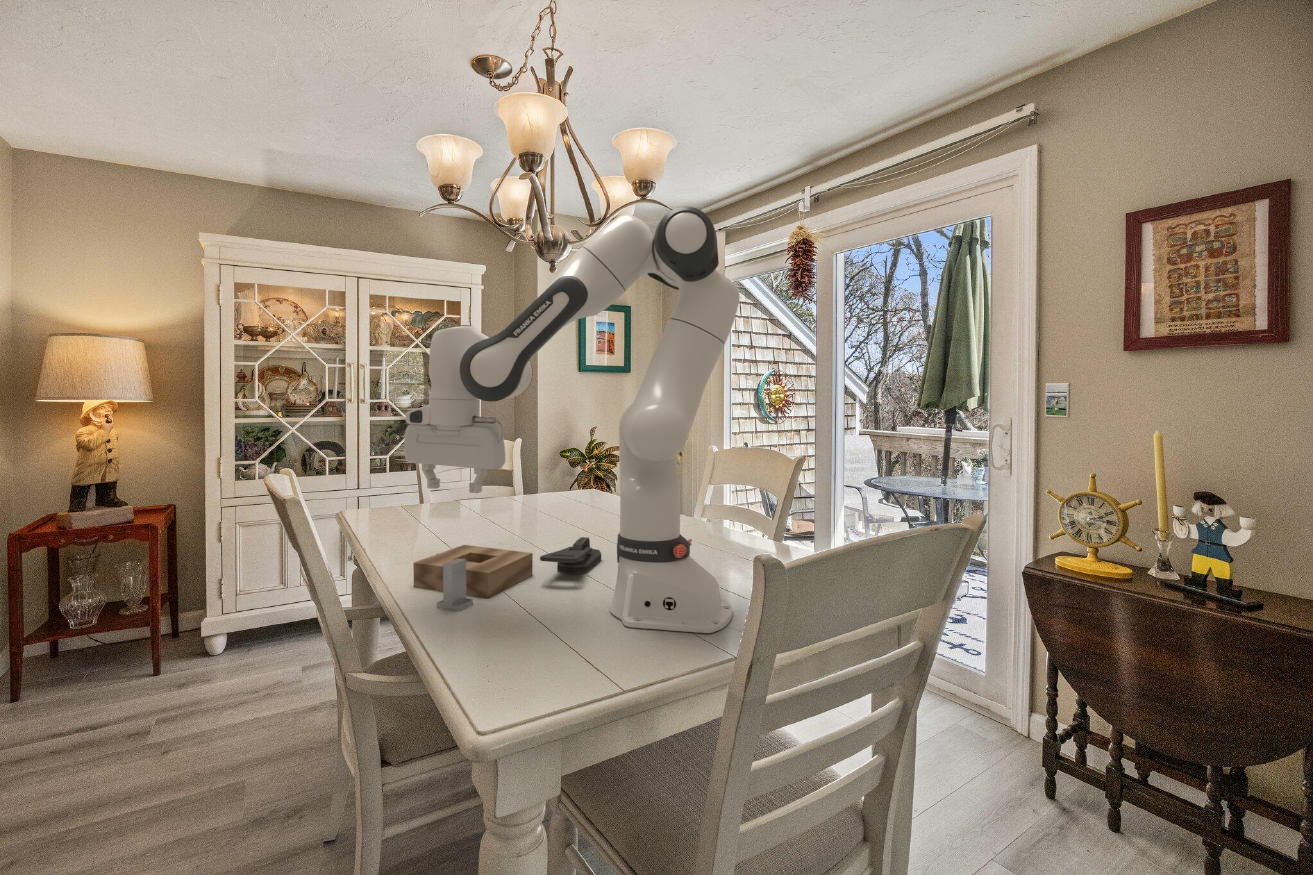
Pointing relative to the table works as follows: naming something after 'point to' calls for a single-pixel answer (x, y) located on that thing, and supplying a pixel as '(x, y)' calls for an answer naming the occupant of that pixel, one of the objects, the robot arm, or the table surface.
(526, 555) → the walnut well
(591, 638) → the table surface
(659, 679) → the table surface
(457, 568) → the steel bracket
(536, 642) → the table surface
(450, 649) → the table surface
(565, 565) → the zipper pull
